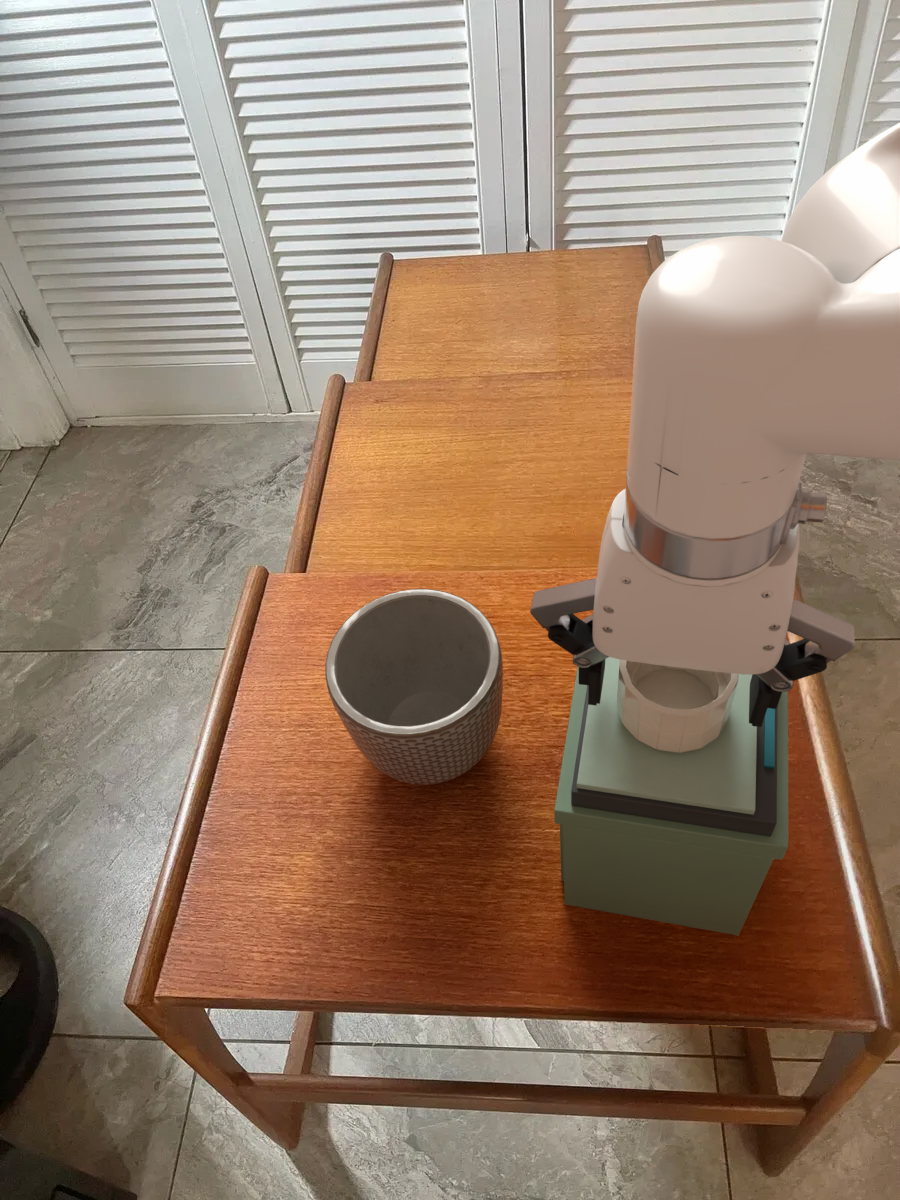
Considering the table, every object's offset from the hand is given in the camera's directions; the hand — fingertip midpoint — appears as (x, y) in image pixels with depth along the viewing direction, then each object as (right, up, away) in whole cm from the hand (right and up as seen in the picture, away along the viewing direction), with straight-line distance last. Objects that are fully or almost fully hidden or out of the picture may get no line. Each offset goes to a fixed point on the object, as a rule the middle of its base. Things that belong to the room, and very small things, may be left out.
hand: (674, 695), depth 56 cm
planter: (-15, -6, +24) cm, 29 cm away
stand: (+3, -13, +16) cm, 21 cm away
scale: (+1, -3, +3) cm, 4 cm away
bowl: (0, -1, +1) cm, 2 cm away
